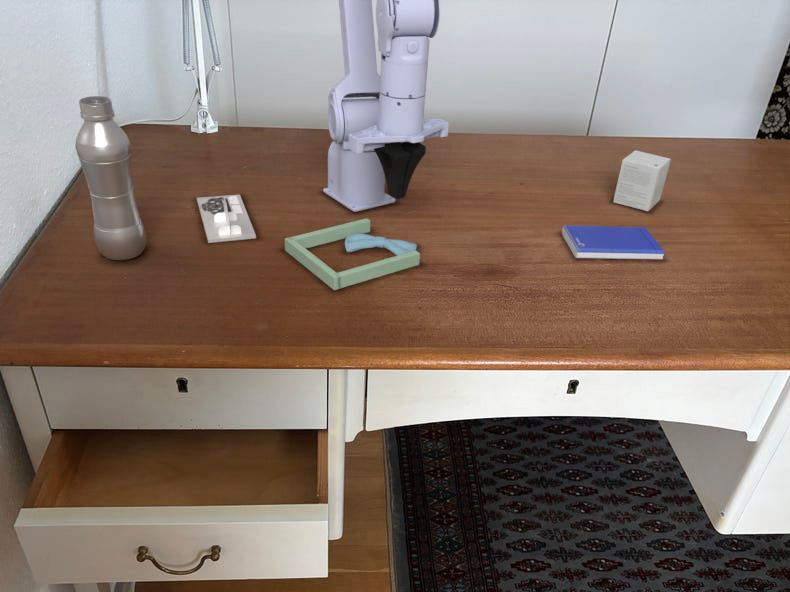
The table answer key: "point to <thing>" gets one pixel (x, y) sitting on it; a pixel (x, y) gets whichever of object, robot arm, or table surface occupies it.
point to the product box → (641, 180)
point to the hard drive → (611, 242)
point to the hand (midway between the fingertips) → (396, 196)
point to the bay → (352, 276)
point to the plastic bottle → (109, 180)
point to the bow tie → (378, 243)
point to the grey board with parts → (225, 218)
